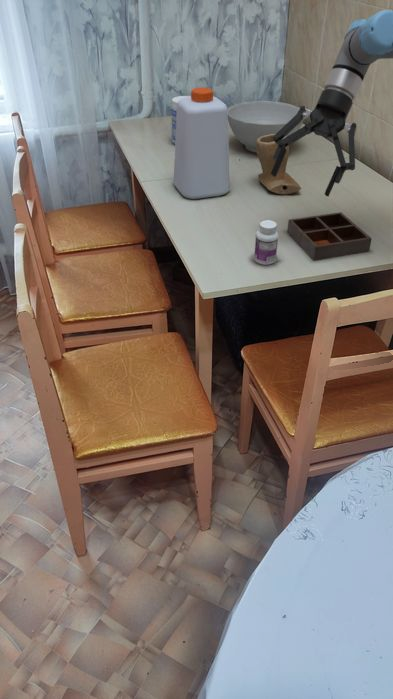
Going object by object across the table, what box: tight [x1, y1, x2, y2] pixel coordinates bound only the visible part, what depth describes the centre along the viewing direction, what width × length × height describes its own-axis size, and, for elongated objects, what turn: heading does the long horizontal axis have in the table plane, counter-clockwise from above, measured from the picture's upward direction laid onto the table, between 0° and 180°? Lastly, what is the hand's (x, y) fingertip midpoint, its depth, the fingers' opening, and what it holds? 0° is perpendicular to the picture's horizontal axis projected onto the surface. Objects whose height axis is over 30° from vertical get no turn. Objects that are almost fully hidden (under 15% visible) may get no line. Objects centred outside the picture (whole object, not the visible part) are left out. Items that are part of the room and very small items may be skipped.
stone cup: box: [256, 134, 302, 195], centre depth 162 cm, size 15×12×15 cm
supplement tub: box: [171, 95, 191, 145], centre depth 192 cm, size 10×10×15 cm
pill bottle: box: [253, 219, 279, 266], centre depth 129 cm, size 5×5×10 cm
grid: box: [286, 211, 372, 261], centre depth 139 cm, size 15×15×4 cm
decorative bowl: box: [227, 100, 305, 154], centre depth 189 cm, size 27×27×12 cm
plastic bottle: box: [173, 87, 231, 200], centre depth 156 cm, size 15×15×28 cm
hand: (299, 185), depth 127 cm, fingers open, 13 cm apart
